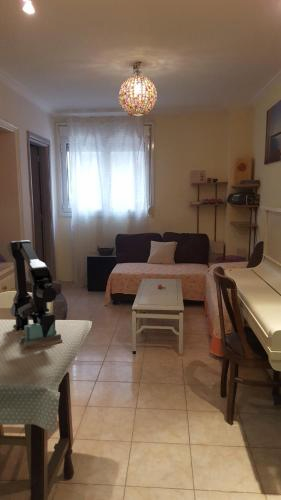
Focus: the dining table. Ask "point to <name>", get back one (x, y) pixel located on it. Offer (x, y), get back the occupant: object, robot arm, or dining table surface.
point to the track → (40, 341)
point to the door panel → (37, 331)
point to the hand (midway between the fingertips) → (40, 333)
